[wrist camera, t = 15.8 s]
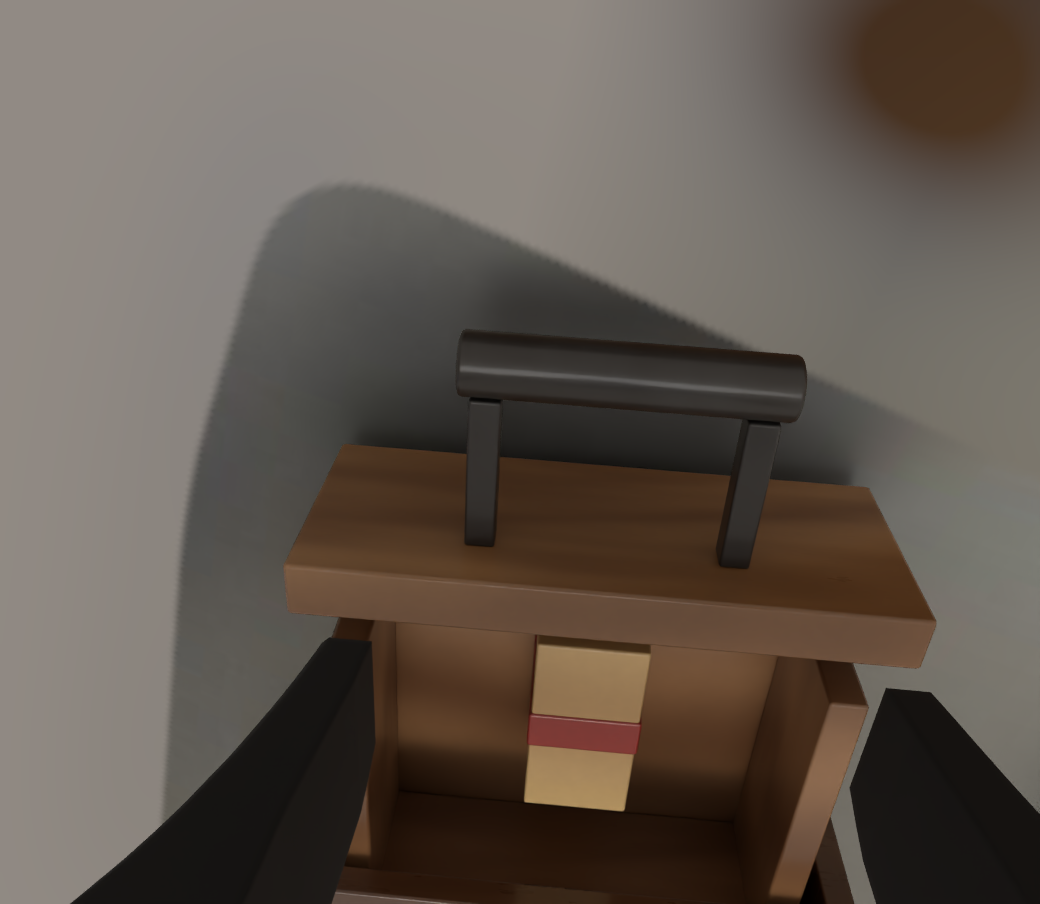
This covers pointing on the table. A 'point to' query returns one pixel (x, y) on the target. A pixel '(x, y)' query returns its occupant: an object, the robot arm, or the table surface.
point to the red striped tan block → (584, 721)
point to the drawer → (609, 627)
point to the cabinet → (453, 900)
